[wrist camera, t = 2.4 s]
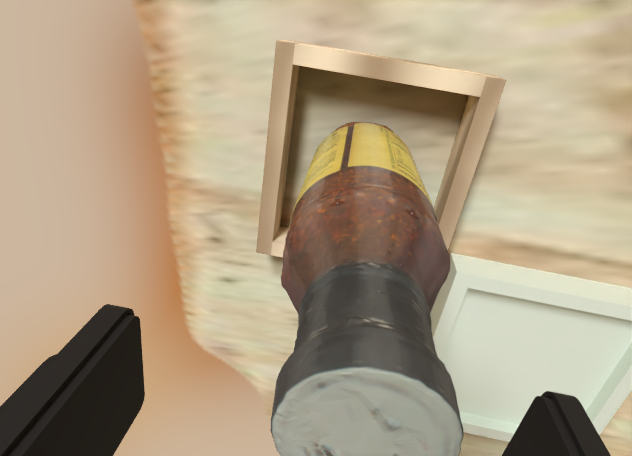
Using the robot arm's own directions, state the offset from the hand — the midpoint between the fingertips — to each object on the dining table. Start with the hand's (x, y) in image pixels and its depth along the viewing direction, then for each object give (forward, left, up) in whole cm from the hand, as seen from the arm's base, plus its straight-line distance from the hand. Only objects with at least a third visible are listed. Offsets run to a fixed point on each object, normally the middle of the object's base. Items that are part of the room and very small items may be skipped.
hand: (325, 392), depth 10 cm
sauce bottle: (0, 0, -19) cm, 19 cm away
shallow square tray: (-14, +12, -19) cm, 26 cm away
